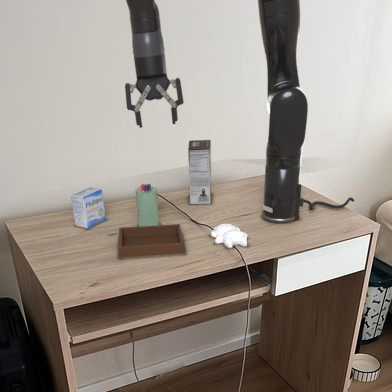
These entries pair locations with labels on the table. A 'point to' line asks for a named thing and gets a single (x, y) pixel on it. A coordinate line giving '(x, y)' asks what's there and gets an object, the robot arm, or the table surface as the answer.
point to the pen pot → (147, 205)
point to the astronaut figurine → (229, 235)
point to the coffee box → (200, 171)
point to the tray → (150, 240)
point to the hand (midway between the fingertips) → (157, 125)
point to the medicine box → (88, 207)
